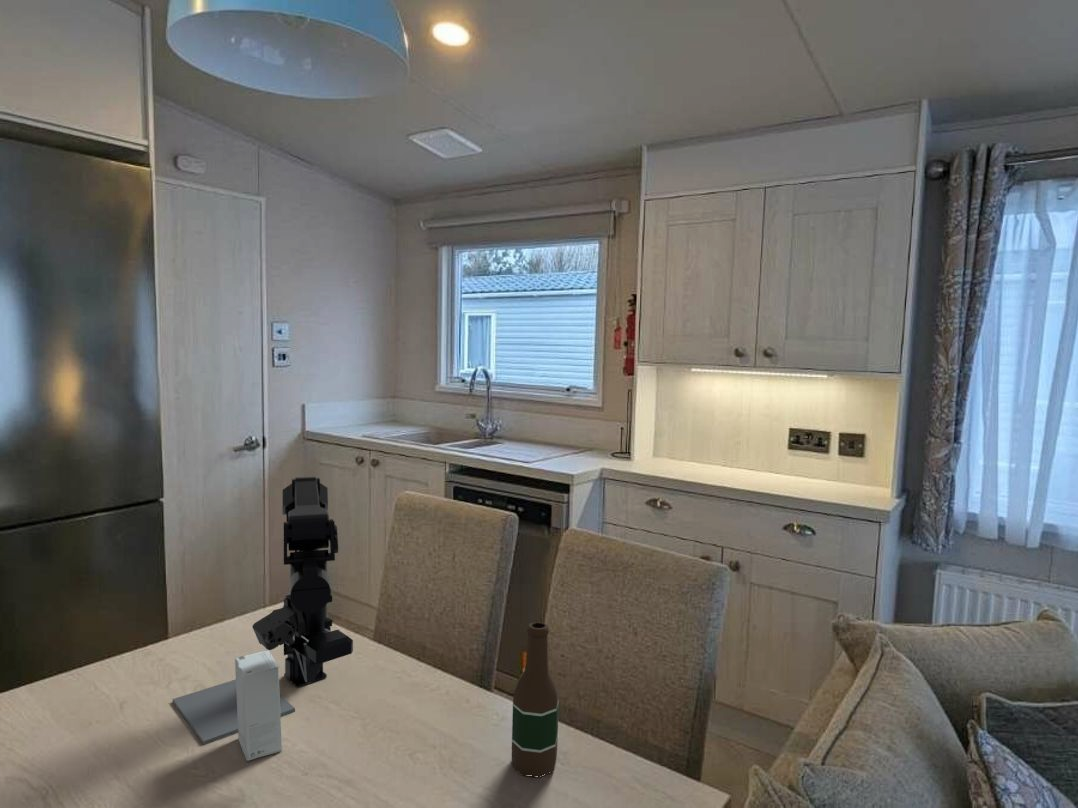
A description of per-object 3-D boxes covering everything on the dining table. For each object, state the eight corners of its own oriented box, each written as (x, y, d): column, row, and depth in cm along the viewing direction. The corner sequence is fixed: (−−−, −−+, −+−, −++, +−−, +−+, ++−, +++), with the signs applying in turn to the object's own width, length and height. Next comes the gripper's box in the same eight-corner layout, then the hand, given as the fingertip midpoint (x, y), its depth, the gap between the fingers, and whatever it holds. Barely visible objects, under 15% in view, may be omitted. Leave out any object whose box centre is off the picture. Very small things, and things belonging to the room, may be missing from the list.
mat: (257, 675, 139) (257, 672, 139) (294, 711, 126) (294, 708, 126) (172, 702, 128) (172, 699, 128) (203, 744, 115) (203, 741, 115)
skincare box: (282, 751, 113) (282, 667, 112) (244, 763, 110) (243, 676, 109) (271, 727, 120) (271, 647, 119) (235, 737, 117) (234, 655, 116)
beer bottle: (541, 785, 106) (546, 639, 104) (501, 768, 111) (505, 627, 108) (566, 760, 113) (570, 622, 111) (527, 744, 117) (531, 611, 115)
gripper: (236, 585, 110) (237, 677, 112) (285, 620, 97) (285, 723, 98) (301, 571, 118) (301, 656, 119) (354, 601, 105) (354, 697, 106)
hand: (309, 681), depth 111 cm, fingers closed
